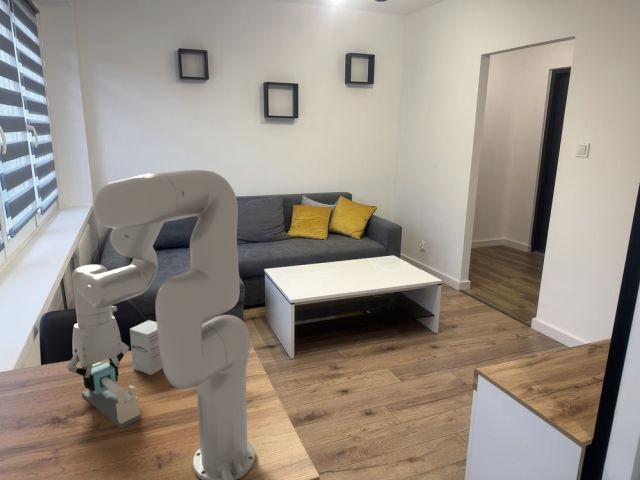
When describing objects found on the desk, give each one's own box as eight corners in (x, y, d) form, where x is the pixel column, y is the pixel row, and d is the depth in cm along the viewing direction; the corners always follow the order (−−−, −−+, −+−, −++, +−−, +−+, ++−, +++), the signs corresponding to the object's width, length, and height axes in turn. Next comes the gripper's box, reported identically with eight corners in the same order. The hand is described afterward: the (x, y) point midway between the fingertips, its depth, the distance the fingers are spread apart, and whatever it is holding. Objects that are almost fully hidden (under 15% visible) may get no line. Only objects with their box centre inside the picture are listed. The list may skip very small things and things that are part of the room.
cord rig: (141, 418, 104) (138, 386, 102) (120, 428, 101) (117, 395, 99) (101, 387, 117) (98, 358, 115) (82, 395, 113) (78, 365, 111)
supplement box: (132, 369, 126) (128, 328, 123) (152, 358, 132) (149, 319, 129) (150, 376, 123) (147, 334, 120) (170, 364, 129) (168, 324, 126)
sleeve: (116, 385, 110) (114, 367, 109) (96, 394, 107) (94, 375, 106) (108, 380, 113) (106, 362, 112) (88, 388, 109) (86, 370, 108)
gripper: (121, 302, 114) (127, 366, 118) (49, 323, 101) (59, 393, 106) (136, 310, 109) (142, 376, 114) (63, 332, 97) (72, 405, 101)
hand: (102, 383), depth 110 cm, fingers closed on sleeve, 5 cm apart
